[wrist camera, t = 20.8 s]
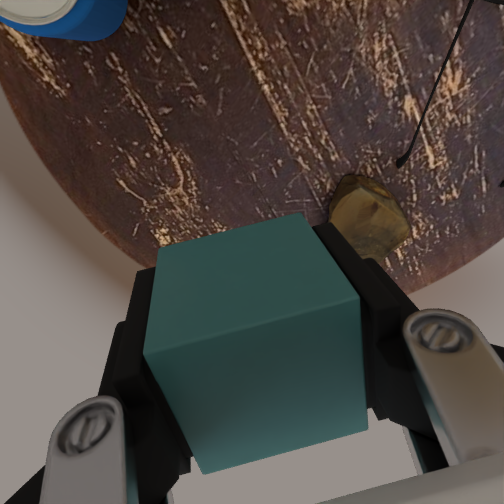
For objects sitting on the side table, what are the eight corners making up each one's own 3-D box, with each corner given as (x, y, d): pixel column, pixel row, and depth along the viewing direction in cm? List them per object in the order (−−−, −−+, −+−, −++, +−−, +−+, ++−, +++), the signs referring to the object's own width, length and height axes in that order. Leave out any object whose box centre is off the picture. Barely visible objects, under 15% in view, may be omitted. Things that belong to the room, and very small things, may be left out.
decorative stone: (419, 203, 40) (439, 216, 37) (370, 272, 43) (384, 288, 40) (342, 163, 36) (357, 173, 33) (296, 241, 39) (305, 257, 36)
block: (157, 247, 10) (141, 354, 6) (301, 210, 10) (361, 296, 6) (198, 352, 12) (202, 476, 8) (317, 320, 12) (369, 430, 8)
